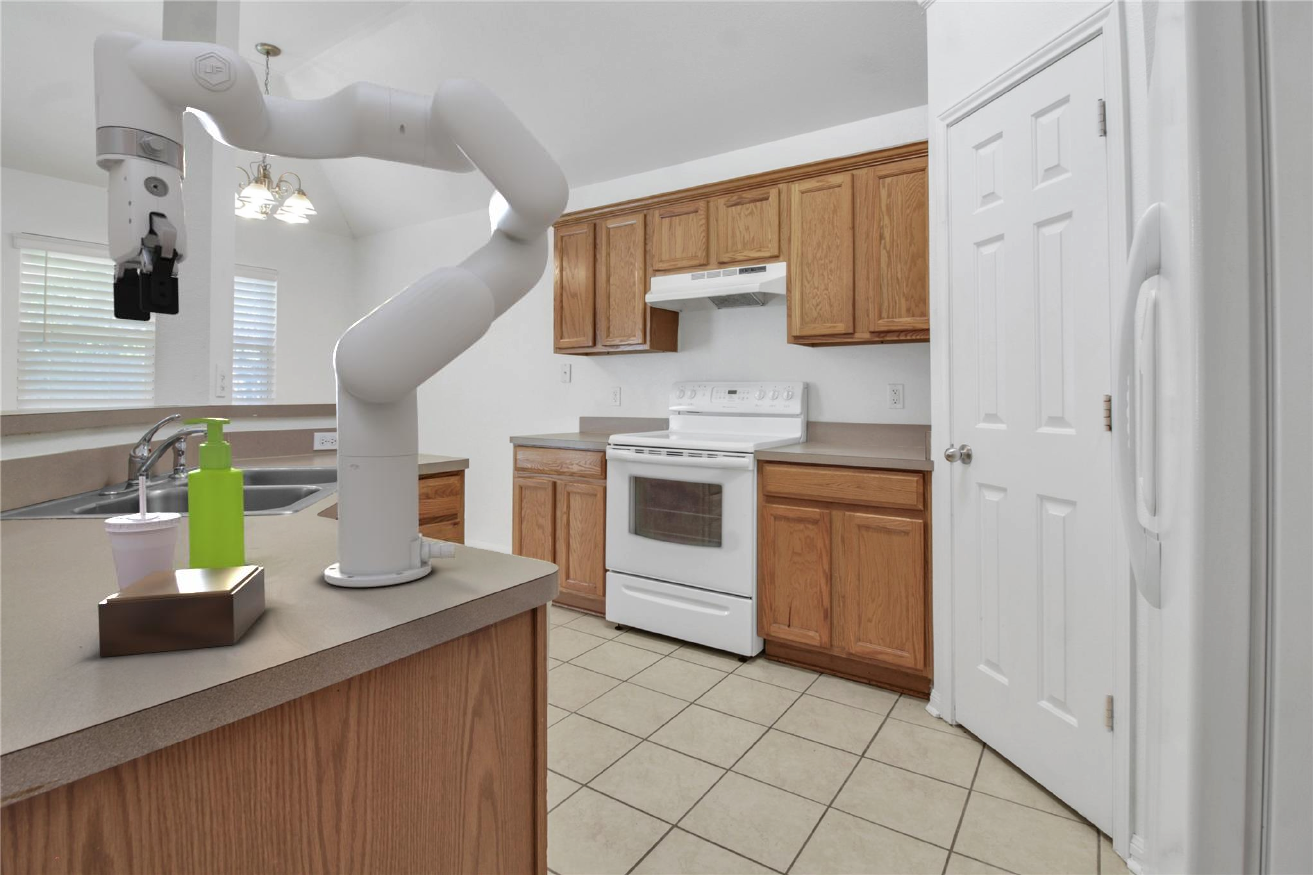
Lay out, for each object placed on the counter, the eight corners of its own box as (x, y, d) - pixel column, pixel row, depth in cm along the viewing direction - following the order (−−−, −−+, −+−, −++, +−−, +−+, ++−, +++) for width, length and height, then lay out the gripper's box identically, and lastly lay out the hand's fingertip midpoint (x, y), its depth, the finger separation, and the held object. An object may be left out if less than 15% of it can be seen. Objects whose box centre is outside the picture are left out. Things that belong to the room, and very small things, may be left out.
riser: (265, 610, 67) (264, 564, 66) (234, 644, 57) (233, 590, 57) (152, 619, 64) (150, 570, 63) (99, 657, 54) (97, 600, 54)
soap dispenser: (209, 564, 86) (206, 417, 85) (255, 566, 85) (252, 418, 84) (170, 575, 80) (166, 418, 79) (219, 577, 79) (215, 418, 78)
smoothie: (178, 594, 72) (175, 472, 71) (188, 607, 67) (185, 477, 67) (104, 606, 67) (100, 476, 67) (109, 621, 63) (105, 482, 62)
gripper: (211, 152, 67) (214, 315, 67) (158, 185, 77) (162, 325, 78) (120, 126, 61) (125, 305, 61) (76, 166, 71) (81, 318, 72)
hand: (145, 316), depth 70 cm, fingers open, 9 cm apart
